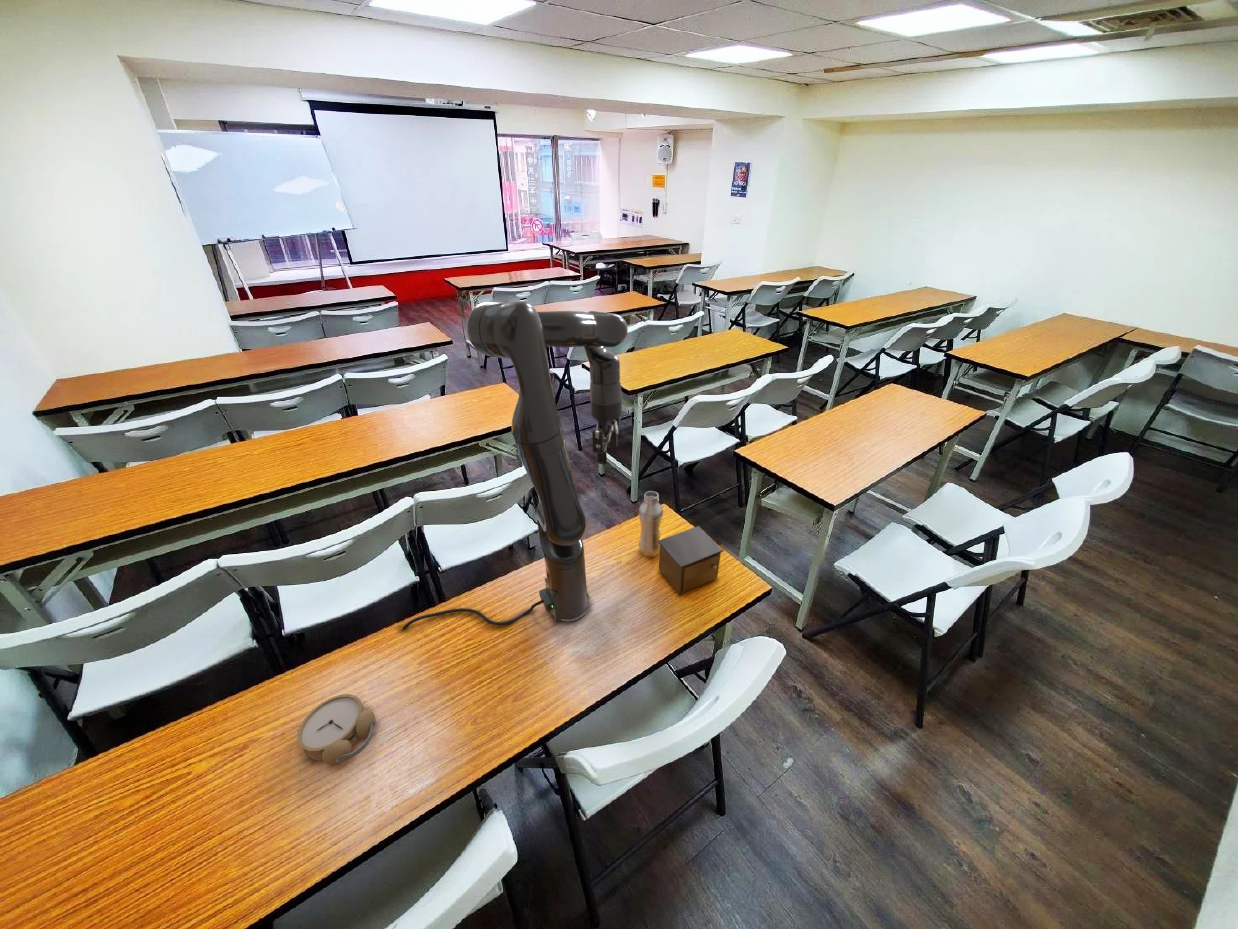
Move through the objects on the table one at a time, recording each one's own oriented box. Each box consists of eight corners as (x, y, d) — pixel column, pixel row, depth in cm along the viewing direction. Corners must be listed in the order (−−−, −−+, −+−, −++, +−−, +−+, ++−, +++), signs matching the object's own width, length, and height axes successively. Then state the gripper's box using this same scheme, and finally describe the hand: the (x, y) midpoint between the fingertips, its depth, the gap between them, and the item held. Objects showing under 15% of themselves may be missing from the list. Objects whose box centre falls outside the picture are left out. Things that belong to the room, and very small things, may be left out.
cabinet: (680, 601, 118) (683, 569, 112) (656, 571, 127) (657, 540, 121) (721, 583, 123) (725, 552, 117) (695, 556, 132) (698, 525, 126)
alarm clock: (337, 685, 97) (383, 709, 89) (348, 701, 99) (393, 725, 92) (283, 735, 88) (329, 765, 81) (296, 750, 90) (342, 782, 83)
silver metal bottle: (660, 561, 131) (662, 503, 120) (636, 557, 132) (636, 500, 121) (663, 545, 136) (665, 489, 125) (640, 542, 137) (640, 486, 127)
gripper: (601, 384, 119) (603, 440, 128) (580, 407, 108) (584, 467, 116) (629, 387, 117) (629, 444, 126) (611, 411, 106) (612, 471, 114)
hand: (607, 455), depth 121 cm, fingers open, 8 cm apart
